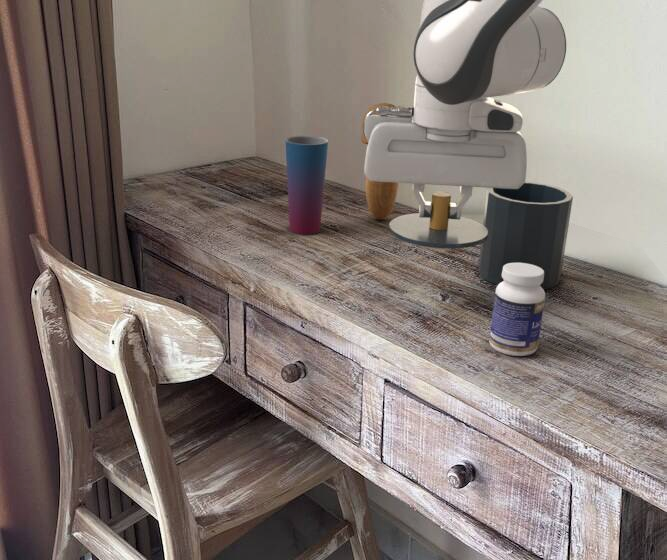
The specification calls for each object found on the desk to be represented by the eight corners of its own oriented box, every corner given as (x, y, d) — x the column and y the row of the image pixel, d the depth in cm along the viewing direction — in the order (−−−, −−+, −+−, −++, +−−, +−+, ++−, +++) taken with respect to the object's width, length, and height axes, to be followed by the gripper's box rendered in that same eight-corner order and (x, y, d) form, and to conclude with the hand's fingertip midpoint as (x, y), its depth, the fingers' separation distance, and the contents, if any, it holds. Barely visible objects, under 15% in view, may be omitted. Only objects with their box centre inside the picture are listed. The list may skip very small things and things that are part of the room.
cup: (321, 223, 138) (324, 135, 132) (328, 236, 132) (331, 144, 126) (281, 223, 137) (283, 135, 131) (286, 236, 131) (288, 144, 125)
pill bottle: (539, 360, 94) (551, 280, 90) (489, 355, 94) (498, 275, 91) (535, 338, 99) (546, 262, 95) (488, 334, 100) (497, 258, 96)
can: (566, 292, 113) (580, 206, 108) (482, 287, 114) (492, 201, 109) (551, 263, 124) (563, 183, 119) (475, 258, 124) (483, 179, 120)
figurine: (406, 226, 138) (414, 108, 130) (365, 228, 136) (371, 108, 129) (390, 210, 146) (397, 98, 139) (351, 212, 144) (357, 98, 137)
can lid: (492, 256, 100) (497, 211, 98) (388, 249, 100) (391, 205, 98) (482, 223, 112) (486, 183, 109) (389, 218, 112) (391, 178, 110)
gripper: (363, 110, 97) (358, 220, 103) (536, 118, 96) (521, 229, 102) (365, 101, 103) (360, 205, 108) (528, 109, 102) (514, 214, 107)
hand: (439, 217), depth 105 cm, fingers closed on can lid, 2 cm apart
